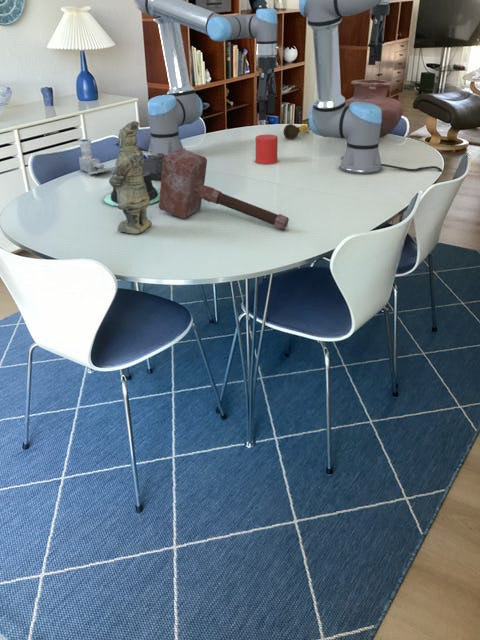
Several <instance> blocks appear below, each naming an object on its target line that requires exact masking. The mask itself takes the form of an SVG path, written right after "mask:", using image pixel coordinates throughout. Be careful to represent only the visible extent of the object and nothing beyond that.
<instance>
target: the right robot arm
mask: <svg viewBox="0 0 480 640" xmlns="http://www.w3.org/2000/svg"><path fill="white" fill-rule="evenodd" d="M391 2H392V1H391V0H298V10H299V13H300V14H301V16H303V17H304V18H306V20H307V26H308V27H309V28H311V30H312V41H313V55H314V69H315V83H316V94H317V95H316V99H314V101H313V104H312V105H311V106H310V108H309V112H308V113H309V115H308V123H309V125H310V128H311V130H310V131H311V132H312V133H313V134H314V135H316V136H320V137H322V138H334V139H342V140H343V139H345V140H346V149H345V151H344V154H343V156H341V157H340V161H341V162H340V170H341V171H343V172H345V173H349V174H355V175H356V174H357V175H369V174H370V175H371V174H376V173H378V172H380V171H382V167H385V168H391V169H396V170H402V171H408V172H416V171H420V170H421V171H422V170H429V169H436V170H437V171H439V172H443V170H442V168H441V167H439V166H435V165H430V166H420V167H417V168H409V167H408V168H407V167H402V166H397V165H391V164H386V163H382V161H381V155H380V150H379V147H380V145H379V144H380V138H379V137H380V128H381V122H382V119H381V116H382V111H381V109H380V107H378V106H377V105H374V104H370V103H365V102H353V103H351V104H350V106H346V104H345V100H346V97H345V96H344V95H342V88H341V85H342V84H341V66H340V42H339V41H340V39H339V25H340V23H341V22H342V21H343V17H349V16H351V17H352V16H355V15H358V14H361V13H363V12H366V11H368V10H369V15H370V16H371V17H372V16H374V18H372V24H371V30H370V37H369V41H368V44H367V48H369V51H368V52H369V53H368V66H376V62H378V63H379V62H382V54H383V45H385V39H384V38H385V19H386V18H385V16H388V15H390V7H391V5H390V3H391Z"/></svg>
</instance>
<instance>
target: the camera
mask: <svg viewBox="0 0 480 640" xmlns="http://www.w3.org/2000/svg"><path fill="white" fill-rule="evenodd" d="M78 142H79V143H78V144H79V147H80V150H81V156H79V157H78V164H79V169H80V171H82V172H84V173H87V175H88V176H89V175H96V174H100V173H104V172H107V171H112V170H115V166H111V167H106V168H105V165H104V163H101V159H100V158H97V157H94V156H93V151H92V139H90V138H81V139H78Z"/></svg>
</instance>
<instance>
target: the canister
mask: <svg viewBox="0 0 480 640" xmlns="http://www.w3.org/2000/svg"><path fill="white" fill-rule="evenodd" d="M255 163H256V164H260V165H273V164H276V163H278V136H277V135H275V134H258V135H256V136H255Z"/></svg>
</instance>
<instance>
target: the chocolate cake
mask: <svg viewBox="0 0 480 640" xmlns="http://www.w3.org/2000/svg"><path fill="white" fill-rule="evenodd" d="M113 175H114V171H112V173H111V176H113ZM143 178H144V182H145V184H146V188H147V192H148V195H149V197H150V204H154V203H157V202H159V198H160V188H156V187H154V185H153V182H152V179H151V175H150V173H149V172H147V171H146V170H144V169H143ZM103 200H104V202H105V203H106V204H108V205H109V206H115V207H118V202H117V192H116V189H115V188H114V187H112V191H111V193H108V194H107V195H106V196H104V198H103ZM150 204H149V205H150Z"/></svg>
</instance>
